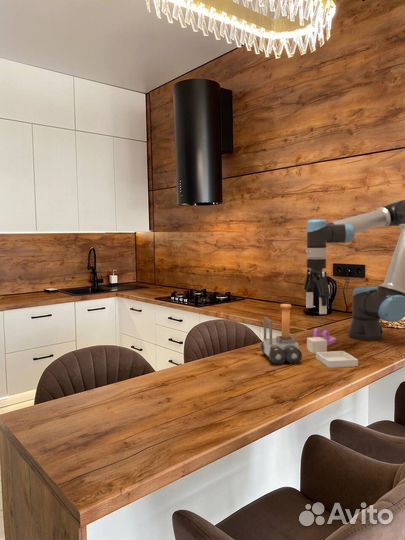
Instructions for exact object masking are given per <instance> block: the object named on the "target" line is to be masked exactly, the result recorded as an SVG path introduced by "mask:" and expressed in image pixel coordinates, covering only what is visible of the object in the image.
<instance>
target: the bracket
mask: <svg viewBox="0 0 405 540" xmlns="http://www.w3.org/2000/svg"><path fill="white" fill-rule="evenodd" d="M312 333H313V334H312V335H313V336H312V337H321V338H323V339H325V340H326V341H327V347H328V346H331V345H332V344H334V343H336V342H337V338H336V337H334V336H330V331H329V330H328V329H323V331H322V336H321V330H320V328H314V329H313V332H312Z"/></svg>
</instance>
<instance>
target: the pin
mask: <svg viewBox="0 0 405 540" xmlns="http://www.w3.org/2000/svg"><path fill="white" fill-rule="evenodd" d="M279 308H281V336H282V339H290V336H291V332H290V331H291V330H290V327H291V326H290V325H291V323H290V322H291V321H290V320H291V319H290V318H291V316H290V315H291V308H292V304H290V303H280V307H279Z"/></svg>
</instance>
